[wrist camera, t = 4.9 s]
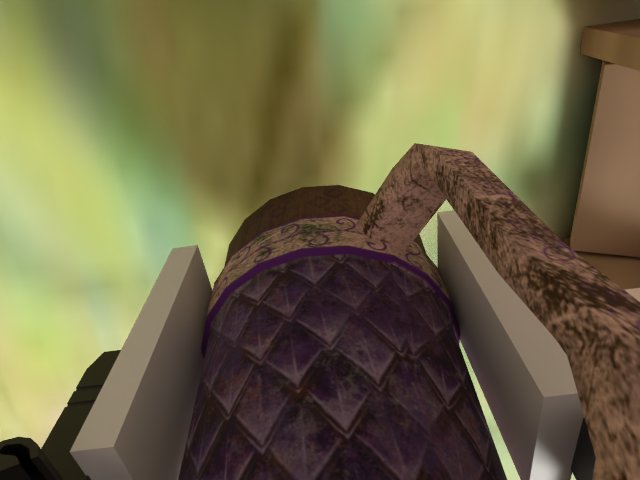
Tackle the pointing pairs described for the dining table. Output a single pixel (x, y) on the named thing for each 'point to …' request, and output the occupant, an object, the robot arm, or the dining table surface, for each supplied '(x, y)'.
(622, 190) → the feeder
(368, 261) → the mug
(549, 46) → the dining table surface
